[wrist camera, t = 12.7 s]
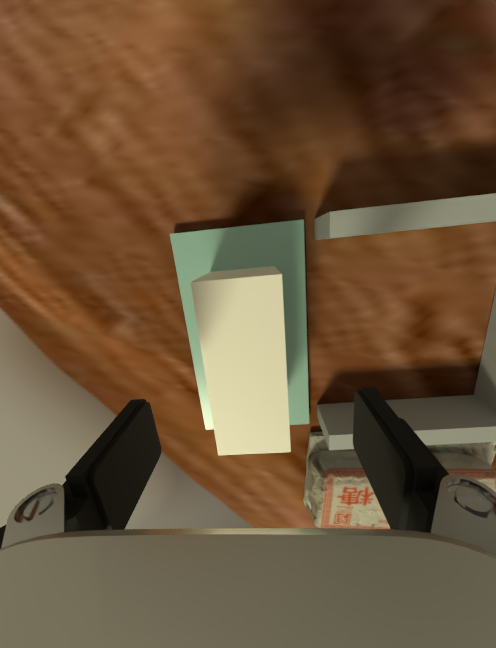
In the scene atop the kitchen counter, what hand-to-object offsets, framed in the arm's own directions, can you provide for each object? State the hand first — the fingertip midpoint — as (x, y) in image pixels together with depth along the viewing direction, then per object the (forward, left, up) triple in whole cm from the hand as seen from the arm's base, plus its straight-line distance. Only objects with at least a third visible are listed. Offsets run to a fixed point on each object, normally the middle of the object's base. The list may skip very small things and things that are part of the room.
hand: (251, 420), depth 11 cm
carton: (0, 0, -10) cm, 10 cm away
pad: (+1, 0, -11) cm, 11 cm away
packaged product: (-13, +16, -12) cm, 24 cm away
